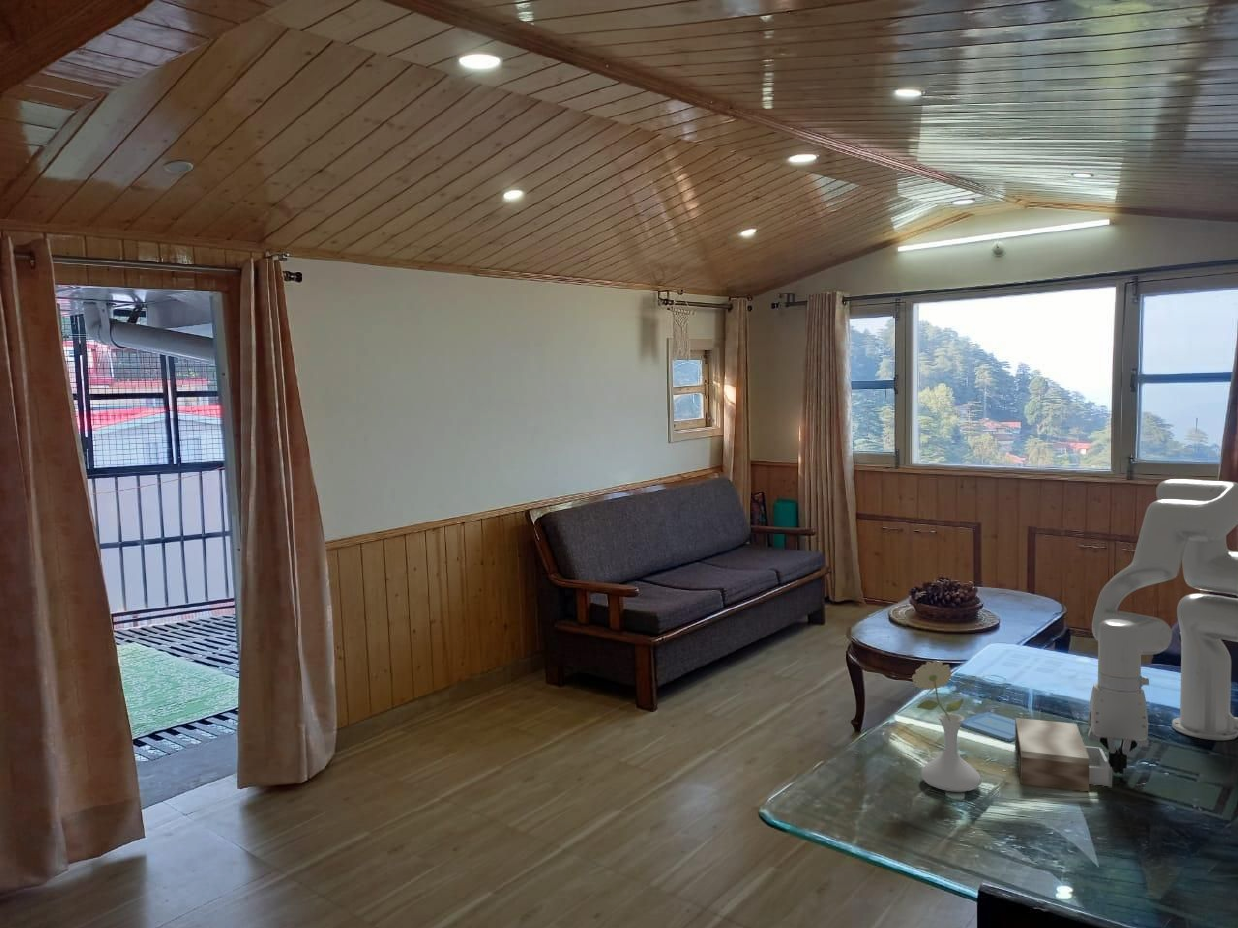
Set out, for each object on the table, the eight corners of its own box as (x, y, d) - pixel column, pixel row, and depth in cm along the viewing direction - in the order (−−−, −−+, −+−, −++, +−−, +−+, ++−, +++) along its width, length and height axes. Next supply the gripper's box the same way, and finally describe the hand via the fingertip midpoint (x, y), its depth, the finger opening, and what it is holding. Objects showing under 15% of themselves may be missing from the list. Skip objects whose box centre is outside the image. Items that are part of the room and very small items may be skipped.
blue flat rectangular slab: (1039, 732, 204) (1039, 727, 204) (1009, 744, 197) (1009, 738, 197) (987, 716, 215) (987, 711, 215) (956, 726, 209) (956, 721, 209)
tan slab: (1076, 754, 190) (1076, 723, 189) (1089, 792, 171) (1089, 758, 171) (1015, 747, 194) (1015, 717, 194) (1021, 783, 175) (1021, 750, 175)
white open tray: (1101, 763, 184) (1101, 747, 184) (1112, 787, 173) (1112, 769, 173) (1027, 756, 189) (1027, 740, 189) (1033, 778, 178) (1033, 761, 178)
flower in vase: (979, 777, 179) (980, 656, 178) (983, 800, 168) (984, 672, 167) (912, 769, 183) (912, 651, 182) (911, 792, 173) (911, 666, 171)
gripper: (1157, 679, 178) (1155, 768, 179) (1074, 673, 183) (1073, 759, 184) (1166, 690, 171) (1164, 783, 172) (1079, 683, 176) (1078, 773, 177)
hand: (1117, 770), depth 178 cm, fingers closed
